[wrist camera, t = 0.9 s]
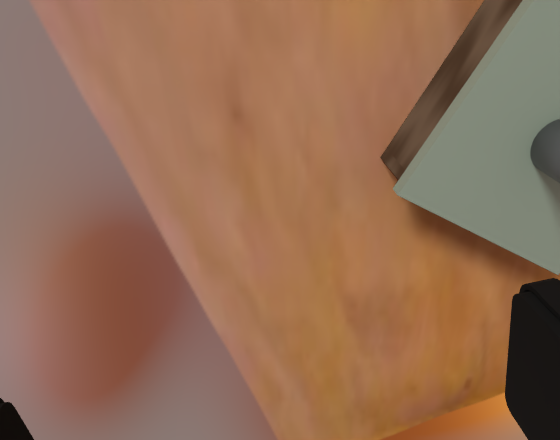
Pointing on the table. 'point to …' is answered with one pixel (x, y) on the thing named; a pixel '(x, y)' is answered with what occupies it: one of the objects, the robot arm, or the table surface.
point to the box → (448, 82)
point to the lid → (501, 143)
